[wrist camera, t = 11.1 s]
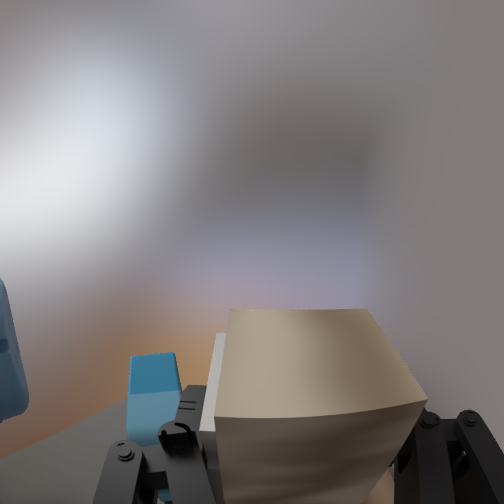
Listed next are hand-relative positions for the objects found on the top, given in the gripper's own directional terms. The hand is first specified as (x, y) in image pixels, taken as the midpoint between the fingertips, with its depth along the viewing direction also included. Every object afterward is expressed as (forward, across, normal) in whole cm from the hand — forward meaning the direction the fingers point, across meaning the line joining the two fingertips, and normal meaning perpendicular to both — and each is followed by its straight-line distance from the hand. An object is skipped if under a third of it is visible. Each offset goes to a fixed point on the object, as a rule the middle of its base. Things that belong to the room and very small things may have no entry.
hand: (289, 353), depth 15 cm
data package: (+5, -10, -19) cm, 22 cm away
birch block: (-5, 0, -8) cm, 9 cm away
